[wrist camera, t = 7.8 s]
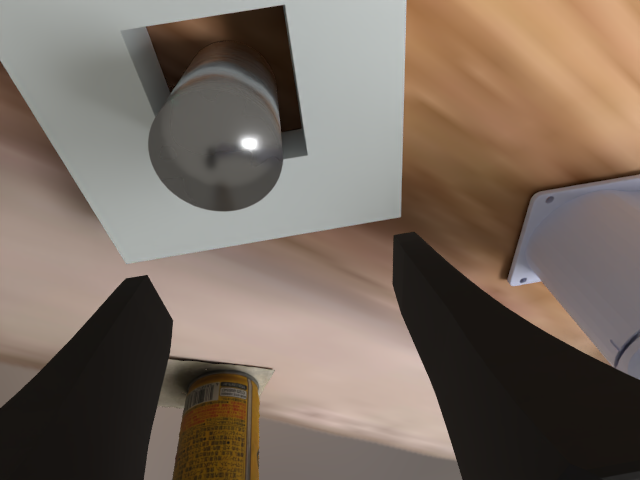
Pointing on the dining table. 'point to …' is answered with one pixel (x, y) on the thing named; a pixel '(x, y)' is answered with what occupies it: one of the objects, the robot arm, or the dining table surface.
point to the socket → (152, 92)
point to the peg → (220, 130)
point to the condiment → (215, 418)
